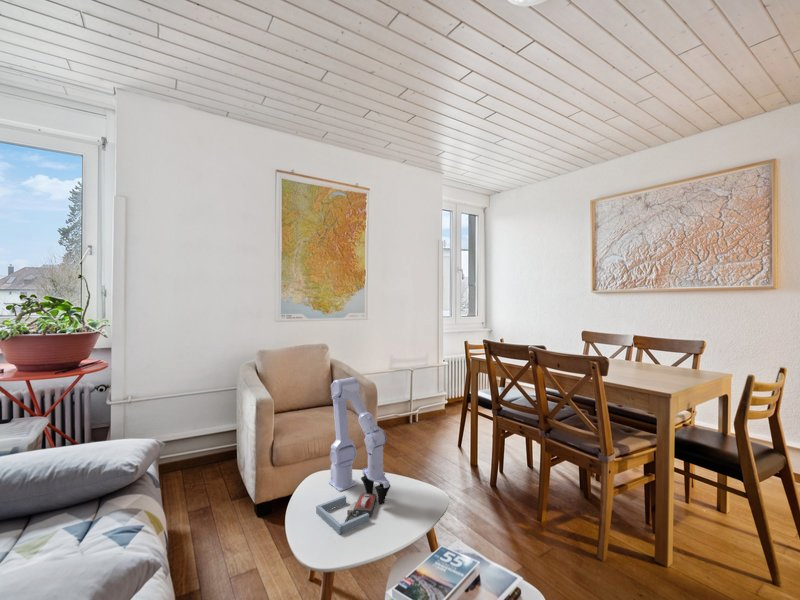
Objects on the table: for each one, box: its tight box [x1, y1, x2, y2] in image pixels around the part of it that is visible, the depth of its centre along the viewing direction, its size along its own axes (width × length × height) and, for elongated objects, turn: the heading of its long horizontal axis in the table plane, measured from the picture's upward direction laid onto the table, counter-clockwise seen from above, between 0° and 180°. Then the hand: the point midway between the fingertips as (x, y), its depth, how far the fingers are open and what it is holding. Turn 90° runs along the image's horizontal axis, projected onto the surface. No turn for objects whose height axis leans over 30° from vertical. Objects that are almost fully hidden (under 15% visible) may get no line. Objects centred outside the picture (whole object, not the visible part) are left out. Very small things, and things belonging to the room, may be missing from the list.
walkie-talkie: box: [343, 492, 378, 523], centre depth 135 cm, size 9×4×20 cm
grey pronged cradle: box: [315, 494, 370, 536], centre depth 133 cm, size 16×12×2 cm
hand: (375, 499), depth 142 cm, fingers open, 7 cm apart
